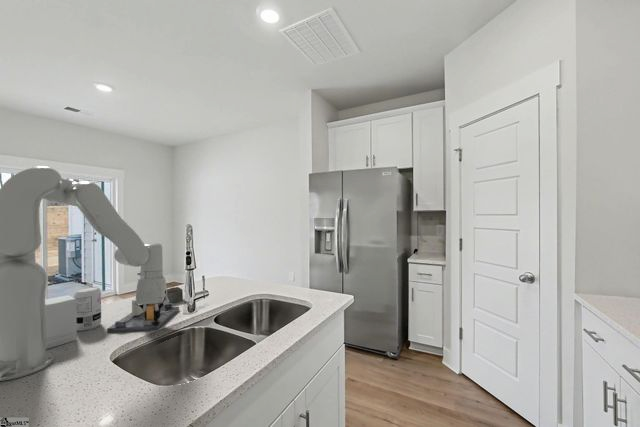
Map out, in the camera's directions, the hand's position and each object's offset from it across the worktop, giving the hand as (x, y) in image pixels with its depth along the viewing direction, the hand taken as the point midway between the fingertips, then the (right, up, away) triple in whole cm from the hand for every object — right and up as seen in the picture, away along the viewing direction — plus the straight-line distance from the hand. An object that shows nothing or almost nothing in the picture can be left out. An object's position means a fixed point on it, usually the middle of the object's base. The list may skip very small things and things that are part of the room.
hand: (152, 319), depth 110 cm
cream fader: (-11, 0, +7) cm, 13 cm away
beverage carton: (-12, -3, +26) cm, 29 cm away
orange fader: (0, 0, 0) cm, 0 cm away
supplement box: (-26, -3, -13) cm, 29 cm away
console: (-6, -2, +5) cm, 8 cm away
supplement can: (-25, -3, -1) cm, 25 cm away
